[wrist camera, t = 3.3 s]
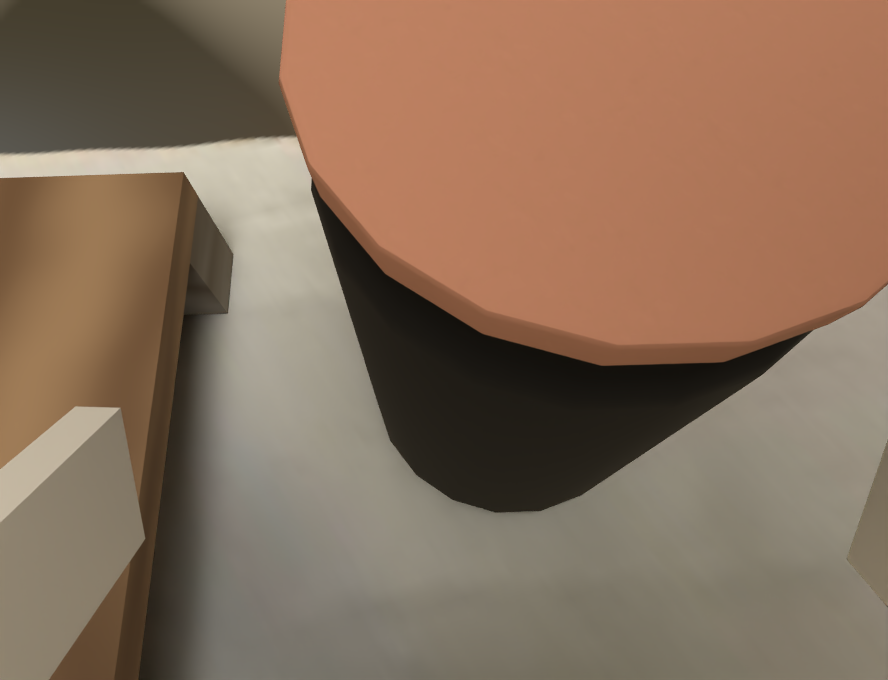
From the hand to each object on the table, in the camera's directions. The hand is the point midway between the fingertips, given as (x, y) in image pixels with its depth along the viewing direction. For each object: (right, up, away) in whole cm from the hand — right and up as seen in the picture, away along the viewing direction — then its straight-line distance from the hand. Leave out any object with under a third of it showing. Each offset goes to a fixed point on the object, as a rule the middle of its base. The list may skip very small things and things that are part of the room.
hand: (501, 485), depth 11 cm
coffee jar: (+2, 0, +15) cm, 16 cm away
